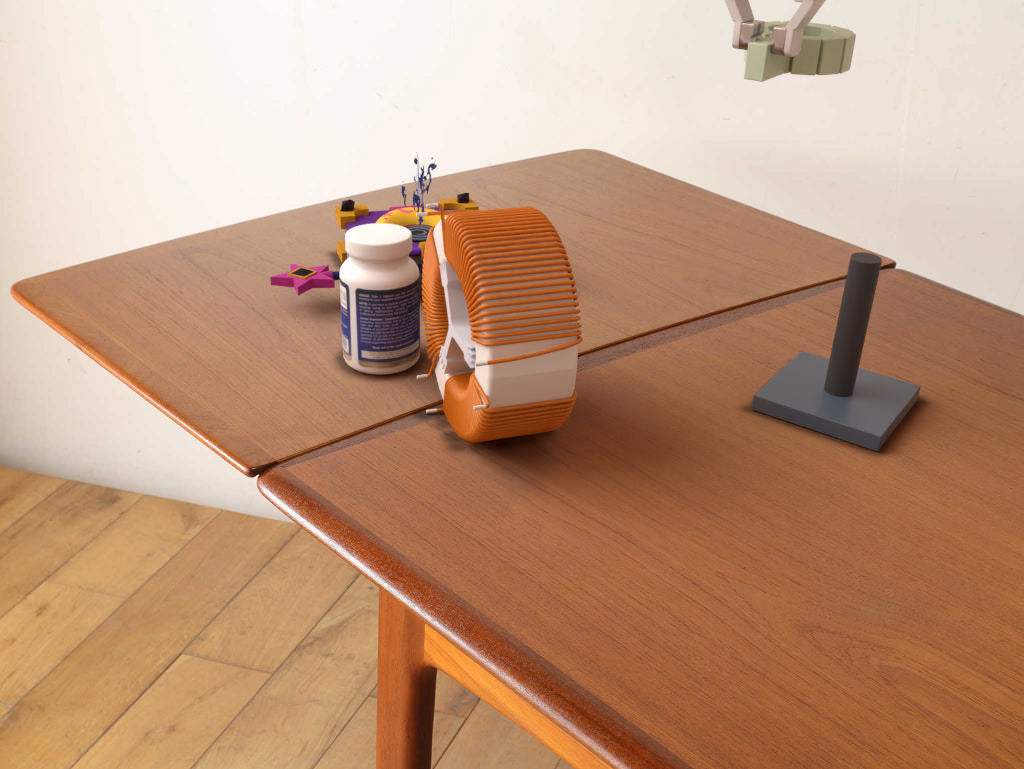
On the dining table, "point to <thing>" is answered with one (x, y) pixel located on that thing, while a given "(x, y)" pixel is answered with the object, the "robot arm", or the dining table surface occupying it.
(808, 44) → the tabbed ring on plate
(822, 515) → the dining table surface
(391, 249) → the pill bottle
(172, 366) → the dining table surface
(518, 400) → the coil
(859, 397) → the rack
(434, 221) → the purple yellow toy
